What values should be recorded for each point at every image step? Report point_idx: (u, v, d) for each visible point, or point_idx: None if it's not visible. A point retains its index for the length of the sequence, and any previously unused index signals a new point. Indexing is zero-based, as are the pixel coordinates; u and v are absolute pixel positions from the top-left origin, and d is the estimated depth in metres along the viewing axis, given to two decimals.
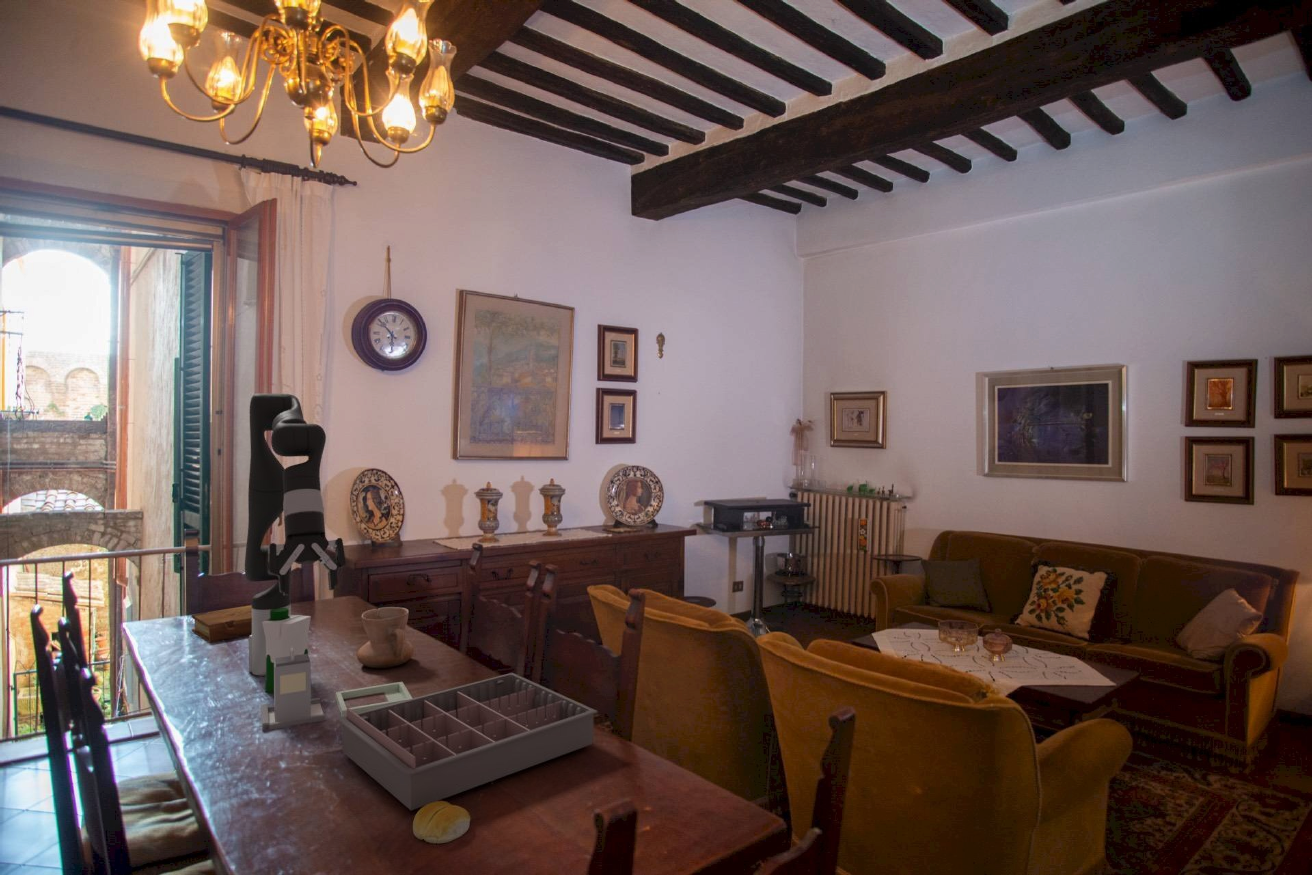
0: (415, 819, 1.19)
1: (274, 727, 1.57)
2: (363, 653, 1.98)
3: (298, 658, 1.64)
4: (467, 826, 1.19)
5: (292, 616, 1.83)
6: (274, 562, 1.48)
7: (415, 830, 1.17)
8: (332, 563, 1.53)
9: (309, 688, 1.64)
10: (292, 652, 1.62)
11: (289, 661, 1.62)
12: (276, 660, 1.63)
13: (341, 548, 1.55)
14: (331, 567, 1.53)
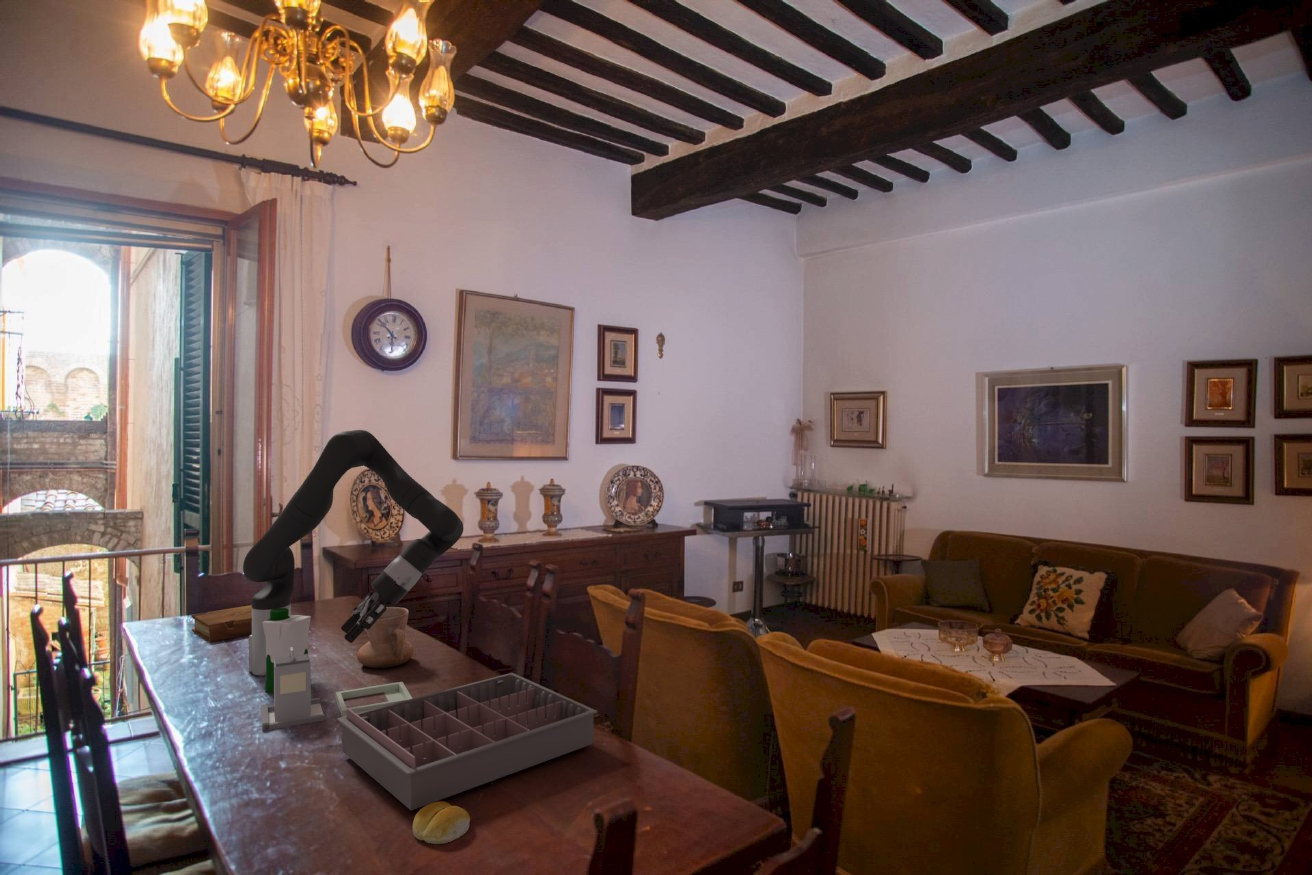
0: (415, 820, 1.19)
1: (274, 727, 1.57)
2: (363, 653, 1.98)
3: (298, 658, 1.64)
4: (467, 827, 1.19)
5: (292, 616, 1.83)
6: None
7: (415, 831, 1.17)
8: None
9: (309, 688, 1.64)
10: (292, 652, 1.62)
11: (289, 661, 1.62)
12: (276, 660, 1.63)
13: None
14: None
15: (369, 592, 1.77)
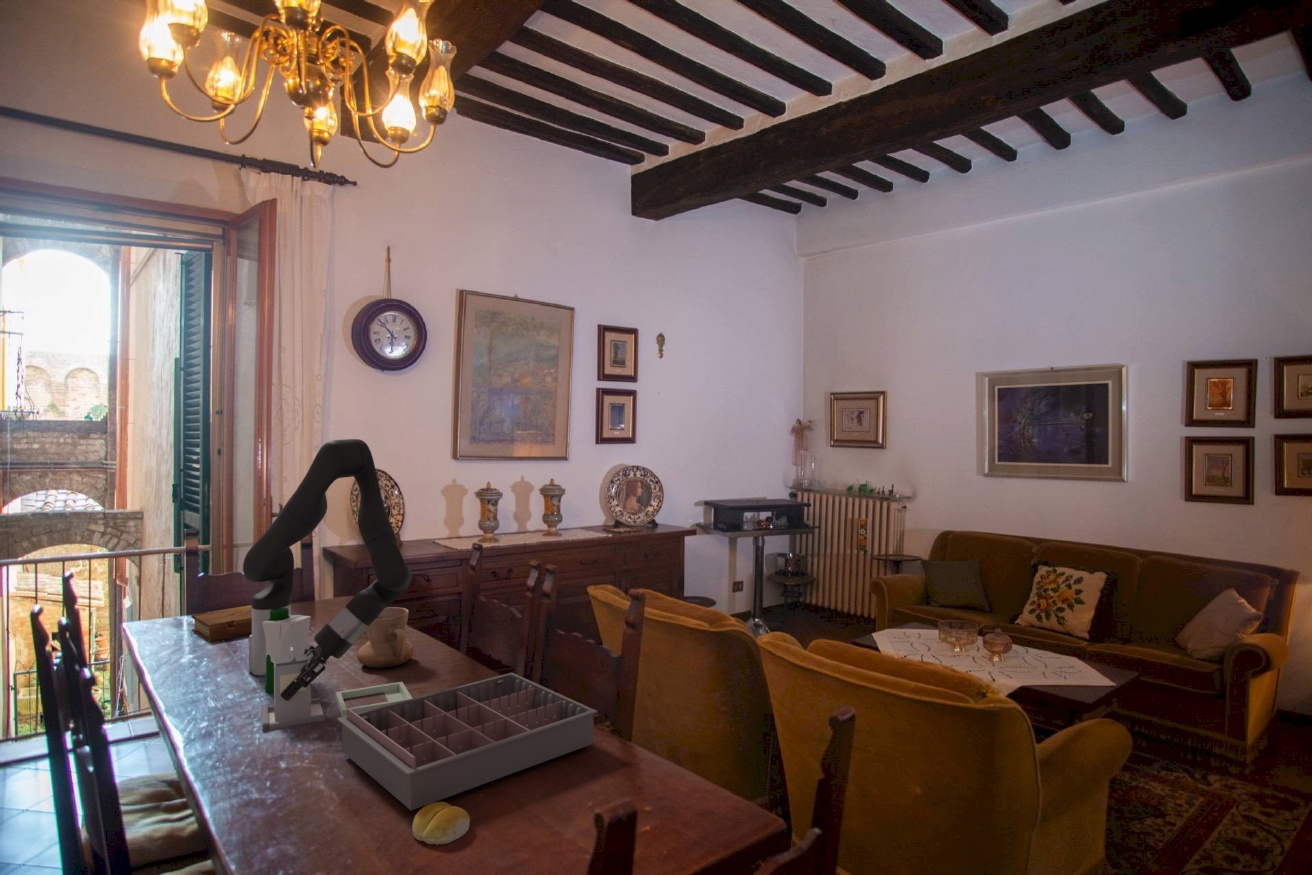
0: (415, 820, 1.19)
1: (274, 727, 1.57)
2: (363, 653, 1.98)
3: (298, 658, 1.64)
4: (467, 827, 1.19)
5: (292, 616, 1.83)
6: None
7: (415, 831, 1.17)
8: None
9: (309, 688, 1.64)
10: (292, 652, 1.62)
11: (289, 661, 1.62)
12: (276, 660, 1.63)
13: None
14: None
15: (310, 647, 1.72)
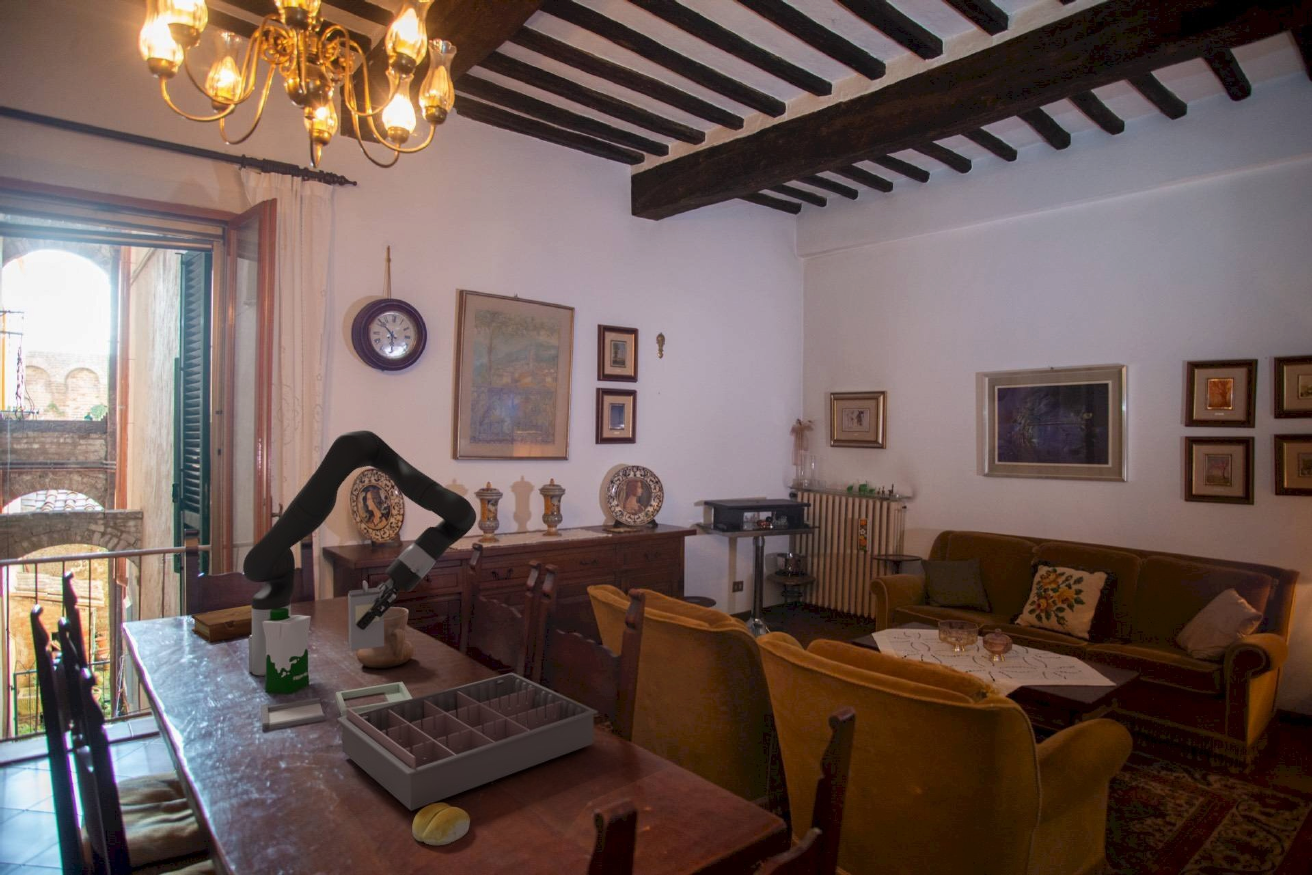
0: (414, 821, 1.18)
1: (274, 727, 1.57)
2: (363, 653, 1.98)
3: (371, 590, 1.71)
4: (467, 828, 1.19)
5: (292, 616, 1.83)
6: None
7: (415, 832, 1.17)
8: None
9: (382, 619, 1.71)
10: (366, 584, 1.69)
11: (363, 592, 1.69)
12: (351, 592, 1.70)
13: None
14: None
15: (380, 582, 1.79)
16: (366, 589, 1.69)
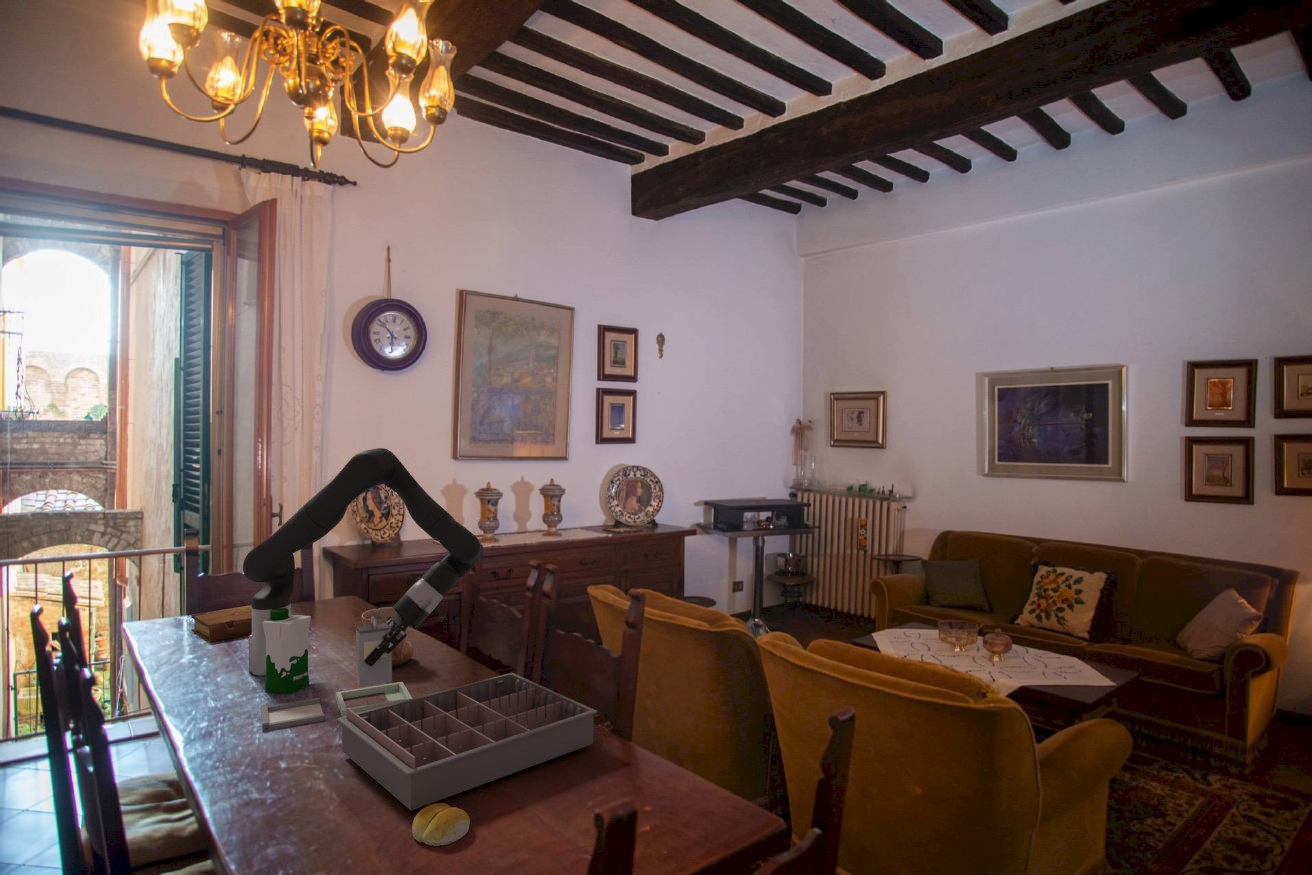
0: (414, 821, 1.18)
1: (274, 727, 1.57)
2: None
3: (379, 626, 1.73)
4: (467, 829, 1.19)
5: (292, 616, 1.83)
6: None
7: (414, 832, 1.17)
8: None
9: (390, 655, 1.72)
10: (374, 620, 1.71)
11: (372, 629, 1.71)
12: (359, 628, 1.71)
13: None
14: None
15: (387, 617, 1.80)
16: (374, 625, 1.71)
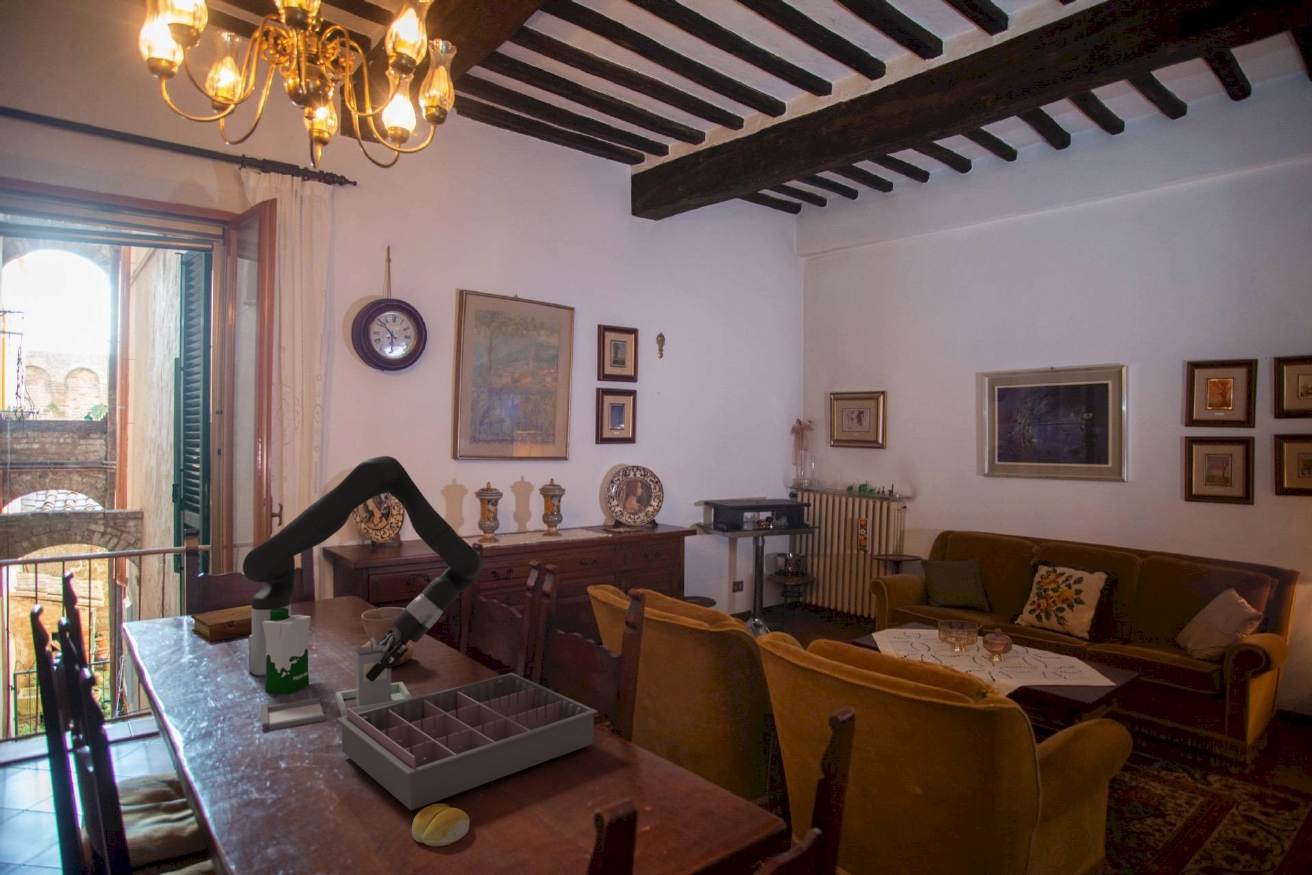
0: (414, 822, 1.18)
1: (274, 727, 1.57)
2: None
3: (379, 648, 1.73)
4: (466, 829, 1.19)
5: (292, 616, 1.83)
6: None
7: (414, 833, 1.17)
8: None
9: (390, 676, 1.72)
10: (374, 642, 1.71)
11: (371, 650, 1.71)
12: (359, 649, 1.71)
13: None
14: None
15: (388, 630, 1.80)
16: (374, 647, 1.71)
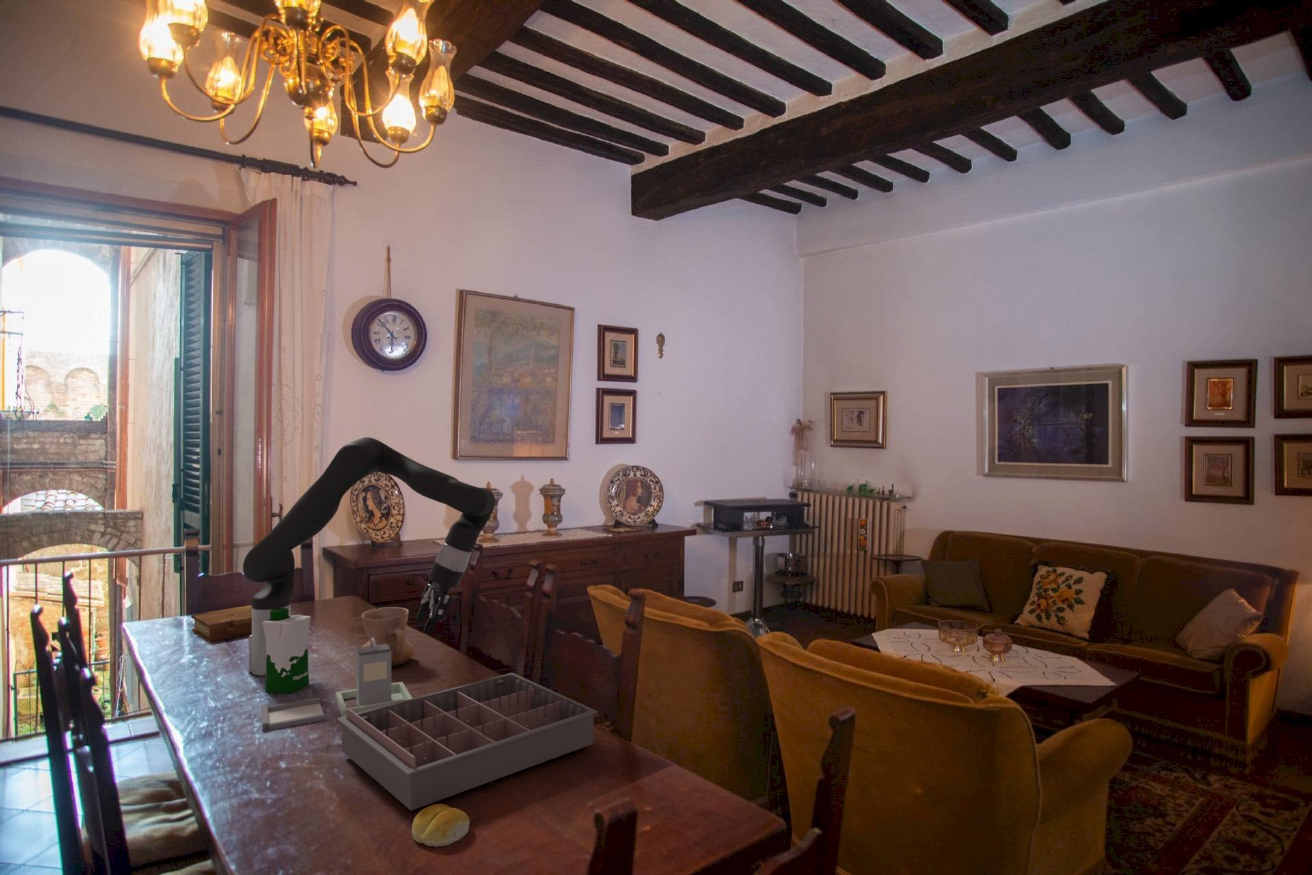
0: (414, 822, 1.18)
1: (274, 727, 1.57)
2: None
3: (379, 648, 1.73)
4: (466, 829, 1.18)
5: (292, 616, 1.83)
6: None
7: (414, 833, 1.16)
8: None
9: (390, 676, 1.72)
10: (374, 642, 1.71)
11: (371, 650, 1.71)
12: (359, 649, 1.71)
13: None
14: None
15: None
16: (374, 647, 1.71)
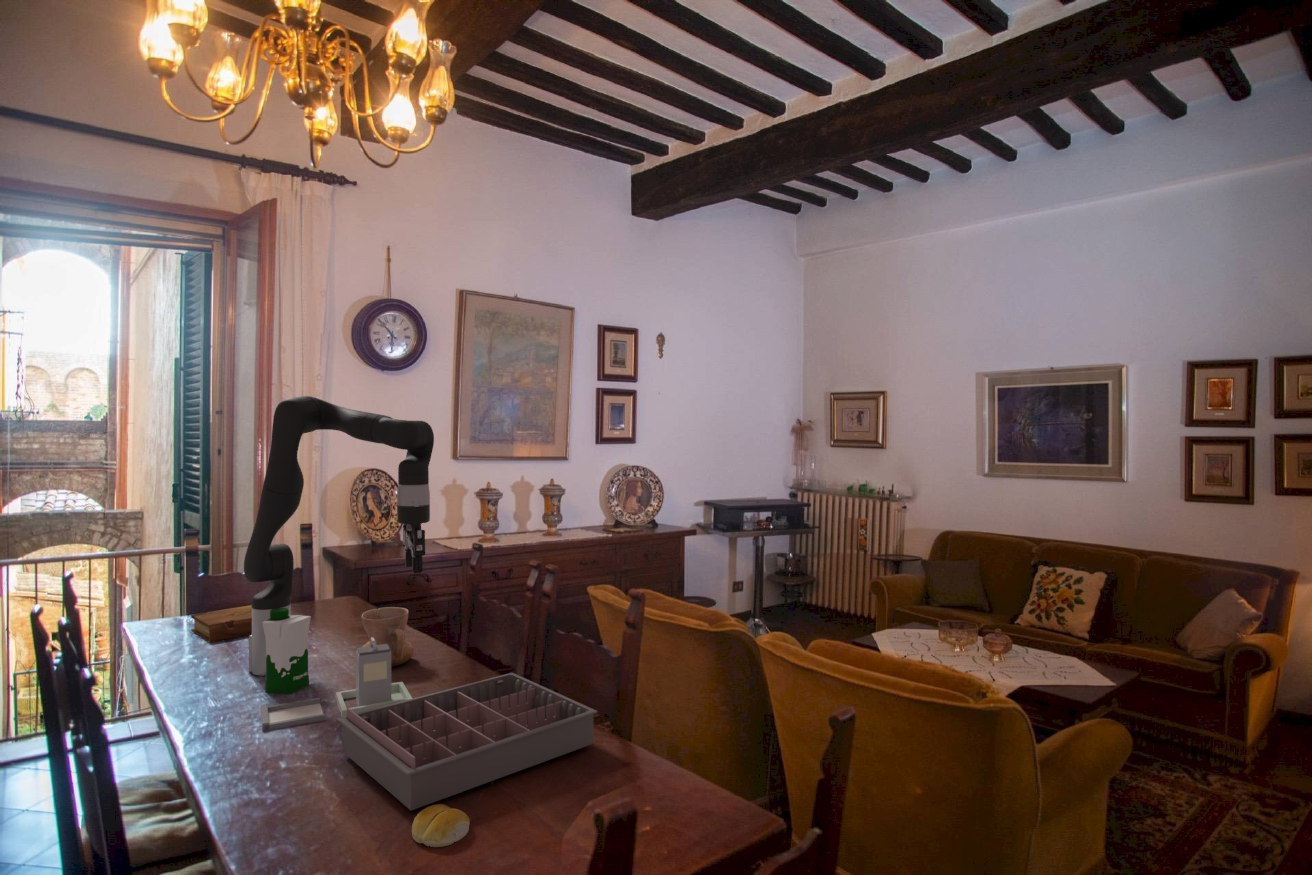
0: (414, 823, 1.18)
1: (274, 727, 1.57)
2: None
3: (379, 648, 1.73)
4: (466, 830, 1.18)
5: (292, 616, 1.83)
6: None
7: (414, 834, 1.16)
8: None
9: (390, 676, 1.72)
10: (374, 642, 1.71)
11: (371, 650, 1.71)
12: (359, 649, 1.71)
13: None
14: None
15: (403, 526, 1.85)
16: (374, 647, 1.71)
